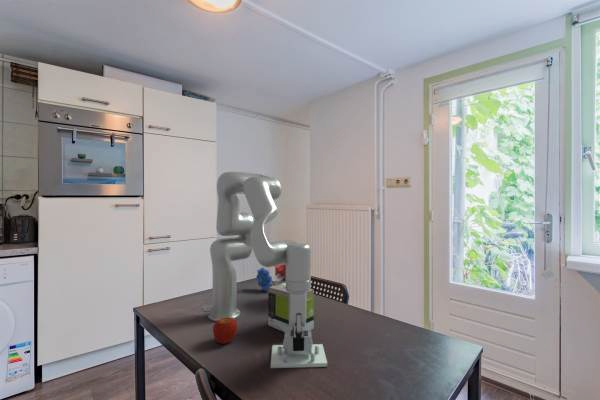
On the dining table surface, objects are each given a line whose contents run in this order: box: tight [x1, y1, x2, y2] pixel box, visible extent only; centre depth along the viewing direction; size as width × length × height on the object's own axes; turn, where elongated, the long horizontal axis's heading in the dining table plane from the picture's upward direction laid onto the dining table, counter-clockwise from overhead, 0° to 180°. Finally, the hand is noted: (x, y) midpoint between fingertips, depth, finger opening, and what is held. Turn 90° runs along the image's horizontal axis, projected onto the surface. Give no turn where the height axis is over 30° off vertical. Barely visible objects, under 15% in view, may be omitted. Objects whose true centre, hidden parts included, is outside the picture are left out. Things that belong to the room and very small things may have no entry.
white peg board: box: [270, 339, 328, 369], centre depth 87 cm, size 16×11×3 cm
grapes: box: [256, 266, 273, 292], centre depth 152 cm, size 12×7×12 cm, turn 49°
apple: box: [212, 317, 239, 345], centre depth 97 cm, size 8×8×8 cm
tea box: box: [267, 283, 315, 333], centre depth 108 cm, size 15×10×15 cm
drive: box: [283, 329, 313, 354], centre depth 87 cm, size 8×5×5 cm, turn 90°
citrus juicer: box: [273, 264, 286, 286], centre depth 135 cm, size 16×17×20 cm
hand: (298, 344), depth 87 cm, fingers open, 5 cm apart
